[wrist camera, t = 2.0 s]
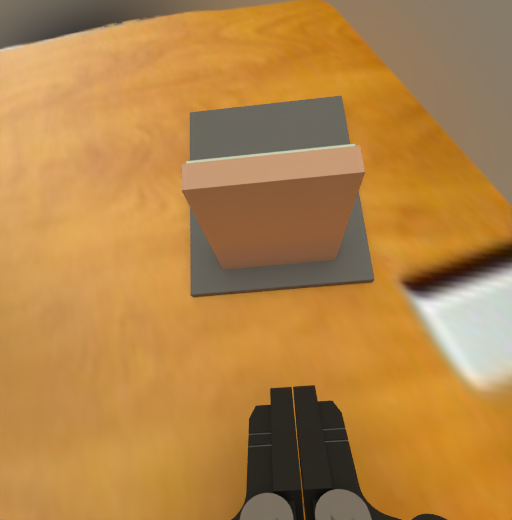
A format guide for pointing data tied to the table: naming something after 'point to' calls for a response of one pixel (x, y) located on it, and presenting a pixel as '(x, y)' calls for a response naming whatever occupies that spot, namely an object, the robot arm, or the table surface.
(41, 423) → the table surface
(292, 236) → the terracotta tile
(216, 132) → the charcoal mat
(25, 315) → the table surface
